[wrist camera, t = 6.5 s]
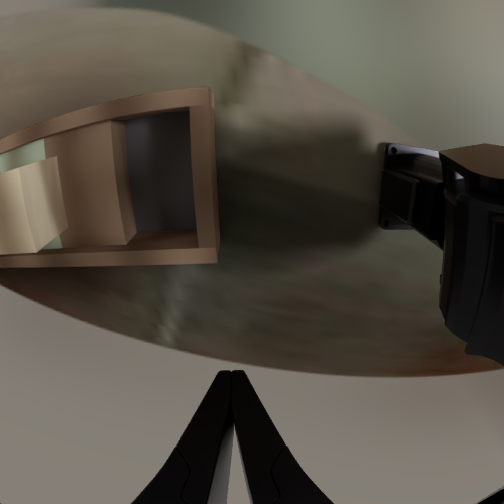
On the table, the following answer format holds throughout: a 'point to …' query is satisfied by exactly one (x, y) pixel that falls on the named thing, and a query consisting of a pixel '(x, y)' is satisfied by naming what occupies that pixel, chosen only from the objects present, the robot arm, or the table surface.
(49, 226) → the block
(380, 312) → the table surface
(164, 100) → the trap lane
